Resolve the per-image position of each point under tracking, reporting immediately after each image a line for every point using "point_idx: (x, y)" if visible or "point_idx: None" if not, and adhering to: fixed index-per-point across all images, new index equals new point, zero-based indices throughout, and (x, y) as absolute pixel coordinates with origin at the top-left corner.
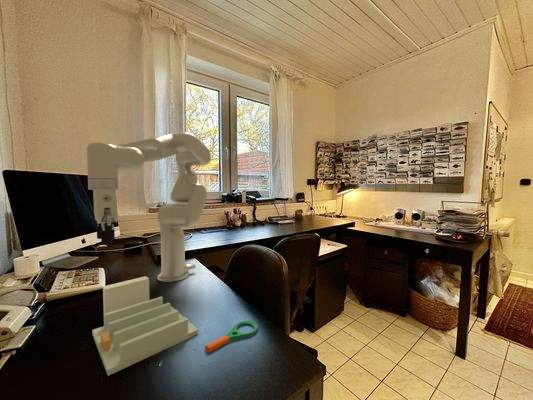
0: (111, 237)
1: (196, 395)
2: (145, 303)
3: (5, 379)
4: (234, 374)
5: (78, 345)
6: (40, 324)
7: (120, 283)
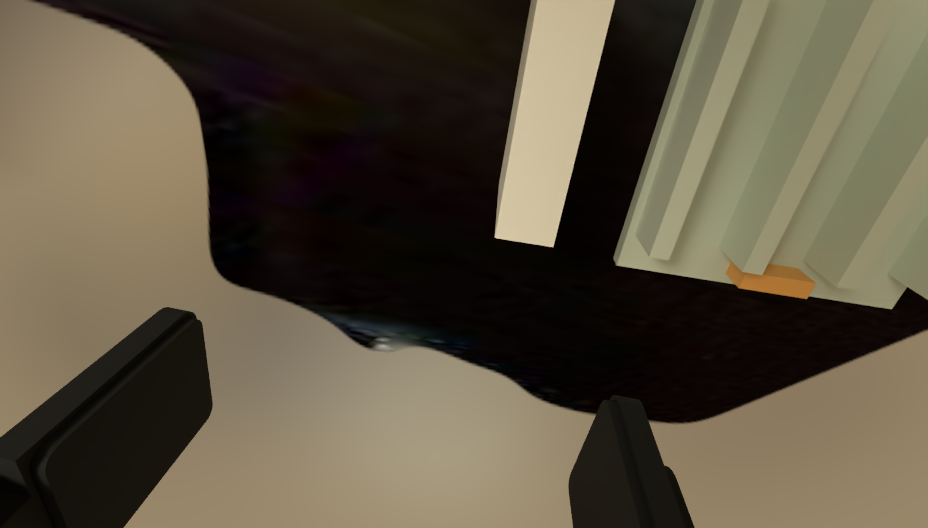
0: (684, 505)
1: None
2: (736, 83)
3: None
4: None
5: (639, 300)
6: (390, 330)
7: (533, 156)
